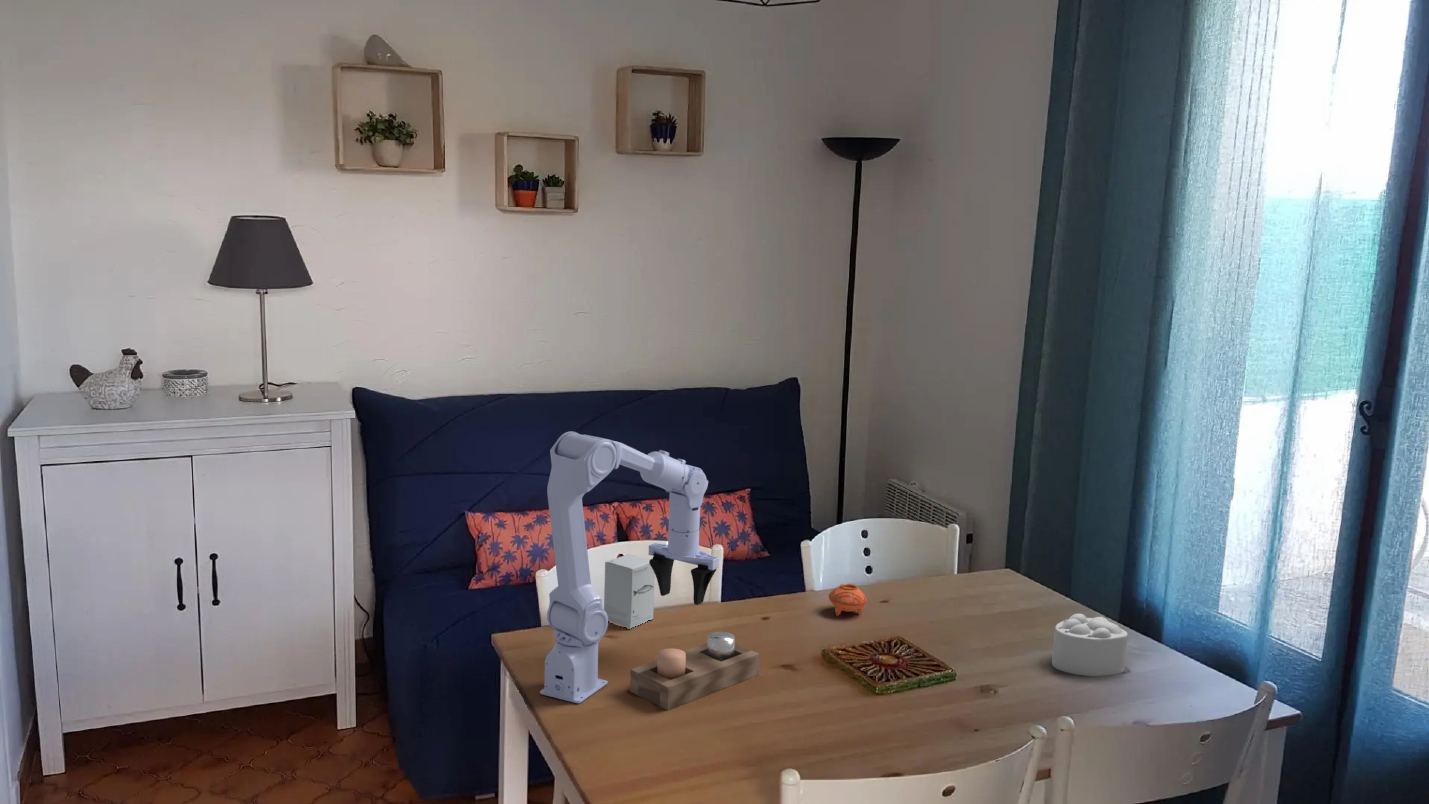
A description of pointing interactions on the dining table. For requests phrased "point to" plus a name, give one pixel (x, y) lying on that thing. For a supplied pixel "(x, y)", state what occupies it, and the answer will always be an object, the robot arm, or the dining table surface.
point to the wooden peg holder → (694, 677)
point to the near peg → (671, 663)
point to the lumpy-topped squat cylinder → (1089, 646)
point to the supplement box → (629, 590)
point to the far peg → (721, 645)
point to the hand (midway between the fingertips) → (681, 598)
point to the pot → (847, 598)
